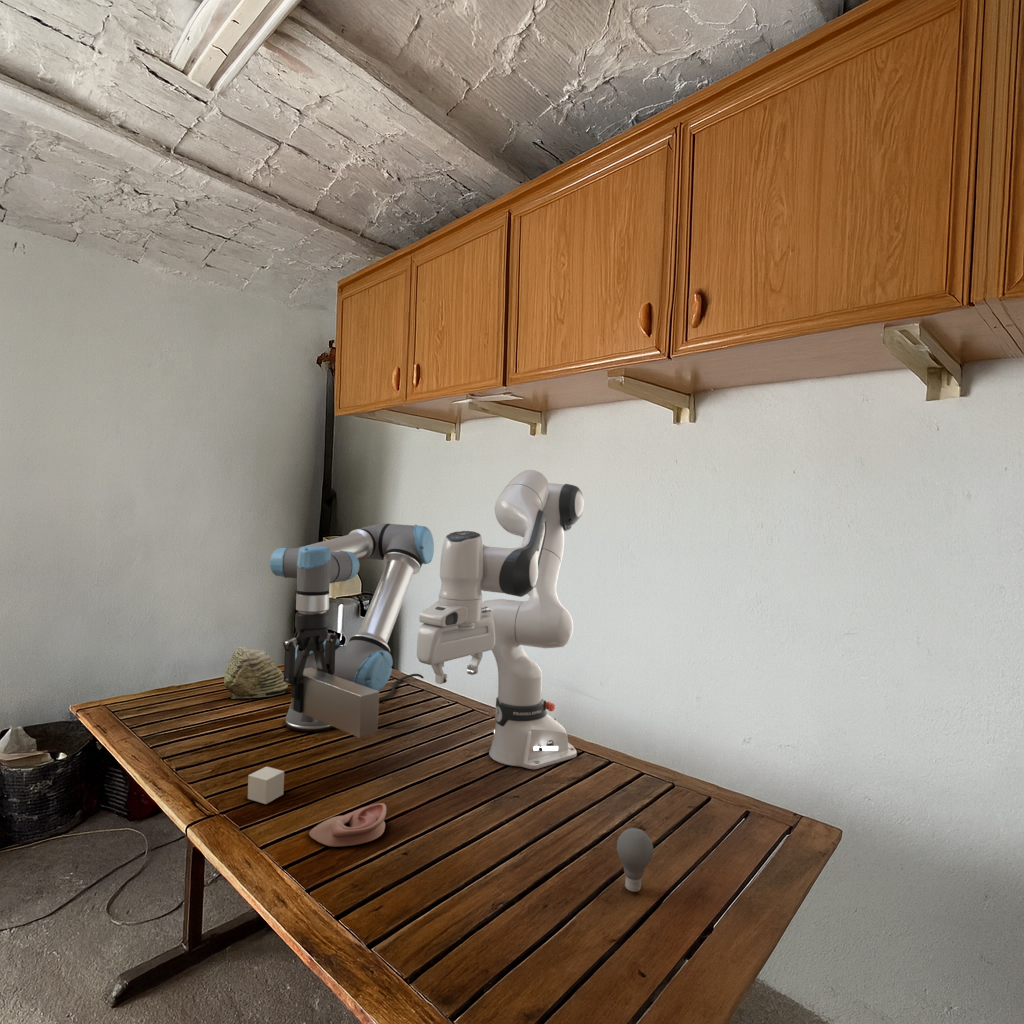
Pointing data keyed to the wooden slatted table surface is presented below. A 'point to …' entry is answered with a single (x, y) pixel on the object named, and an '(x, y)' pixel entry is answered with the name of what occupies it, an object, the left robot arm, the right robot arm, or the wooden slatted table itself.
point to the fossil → (253, 675)
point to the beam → (340, 702)
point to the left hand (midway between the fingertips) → (308, 708)
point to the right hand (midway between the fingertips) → (457, 678)
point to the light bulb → (634, 856)
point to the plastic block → (265, 785)
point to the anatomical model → (352, 827)
